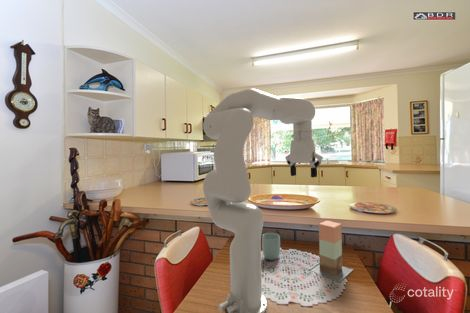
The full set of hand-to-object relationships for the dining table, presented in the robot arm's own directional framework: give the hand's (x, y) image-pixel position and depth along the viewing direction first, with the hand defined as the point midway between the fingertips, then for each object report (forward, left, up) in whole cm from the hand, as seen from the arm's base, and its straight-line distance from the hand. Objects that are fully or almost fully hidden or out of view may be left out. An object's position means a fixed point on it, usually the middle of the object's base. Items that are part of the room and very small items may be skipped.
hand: (303, 176), depth 95 cm
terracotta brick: (-1, -12, -24) cm, 26 cm away
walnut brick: (-1, -12, -36) cm, 37 cm away
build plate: (-1, -12, -36) cm, 38 cm away
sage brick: (-1, -12, -30) cm, 32 cm away
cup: (-9, +11, -36) cm, 39 cm away
